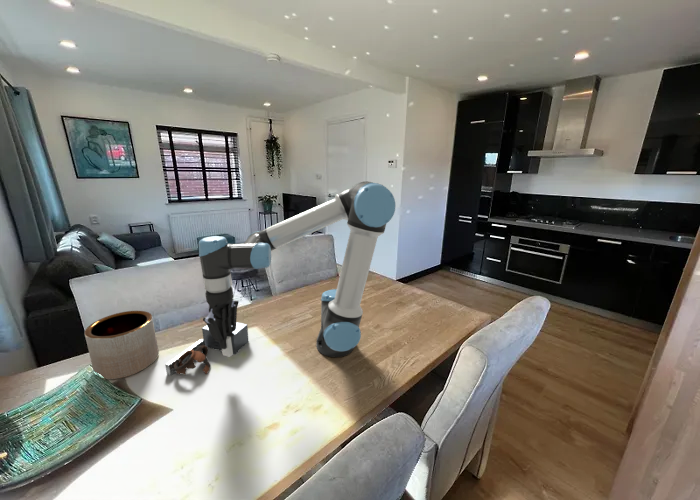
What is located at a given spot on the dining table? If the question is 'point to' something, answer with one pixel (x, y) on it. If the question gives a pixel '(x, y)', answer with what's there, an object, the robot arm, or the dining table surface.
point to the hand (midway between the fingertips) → (227, 354)
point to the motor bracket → (213, 344)
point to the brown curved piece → (196, 356)
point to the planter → (122, 344)
